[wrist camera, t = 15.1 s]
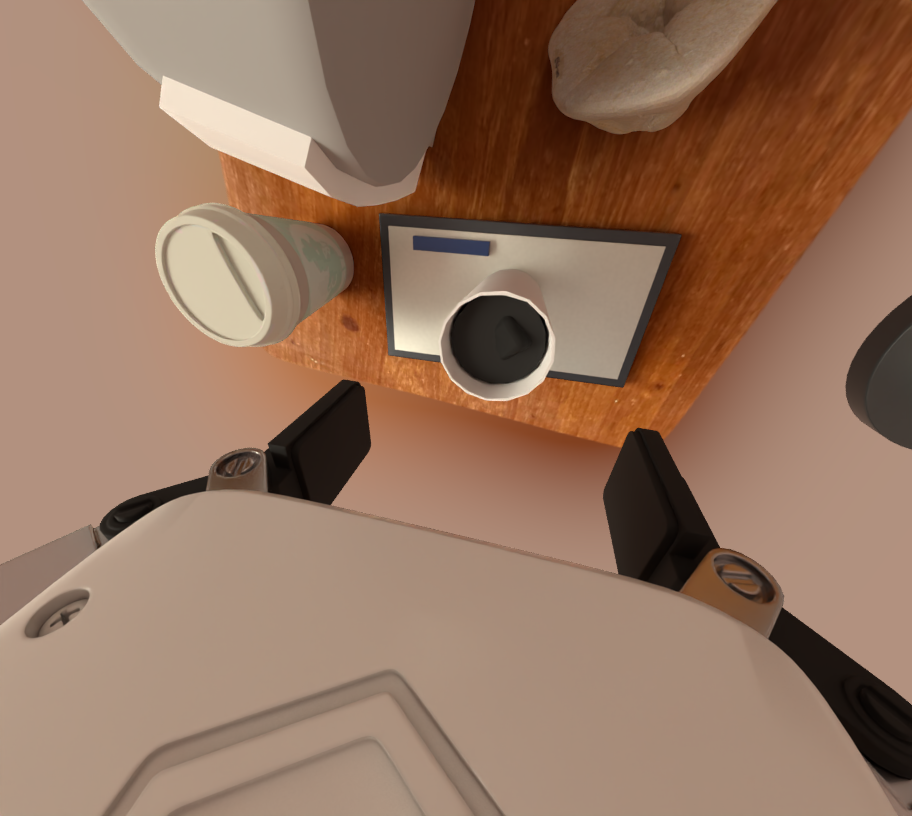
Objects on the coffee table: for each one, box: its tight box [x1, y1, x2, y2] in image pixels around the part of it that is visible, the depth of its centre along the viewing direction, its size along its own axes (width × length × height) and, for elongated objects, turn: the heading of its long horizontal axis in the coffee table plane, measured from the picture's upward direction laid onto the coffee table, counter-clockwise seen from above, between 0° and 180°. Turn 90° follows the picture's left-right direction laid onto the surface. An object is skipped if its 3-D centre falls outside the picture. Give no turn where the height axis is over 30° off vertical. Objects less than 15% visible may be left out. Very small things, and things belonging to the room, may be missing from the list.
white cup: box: [438, 269, 555, 401], centre depth 22 cm, size 7×7×10 cm
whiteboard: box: [379, 213, 682, 388], centre depth 27 cm, size 22×12×2 cm, turn 87°
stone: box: [548, 0, 778, 134], centre depth 16 cm, size 10×7×10 cm
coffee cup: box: [155, 203, 354, 347], centre depth 24 cm, size 9×9×12 cm
